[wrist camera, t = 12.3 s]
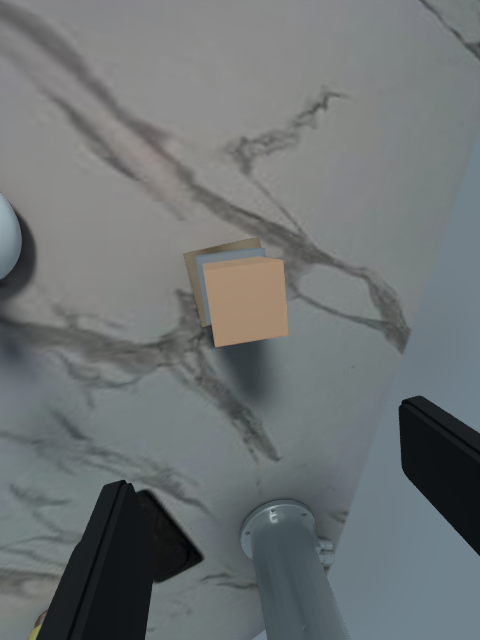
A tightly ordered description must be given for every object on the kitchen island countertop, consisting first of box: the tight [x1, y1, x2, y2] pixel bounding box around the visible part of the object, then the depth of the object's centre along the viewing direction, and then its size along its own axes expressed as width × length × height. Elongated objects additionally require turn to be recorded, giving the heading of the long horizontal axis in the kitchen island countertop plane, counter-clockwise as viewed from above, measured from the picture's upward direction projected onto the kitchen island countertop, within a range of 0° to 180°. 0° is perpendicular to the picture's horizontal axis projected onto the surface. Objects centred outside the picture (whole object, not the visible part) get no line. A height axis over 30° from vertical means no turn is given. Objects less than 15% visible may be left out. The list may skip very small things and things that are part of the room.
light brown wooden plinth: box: [183, 237, 261, 327], centre depth 31 cm, size 8×8×4 cm
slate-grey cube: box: [196, 248, 265, 325], centre depth 26 cm, size 6×6×5 cm
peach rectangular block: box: [202, 256, 289, 347], centre depth 21 cm, size 5×5×7 cm
